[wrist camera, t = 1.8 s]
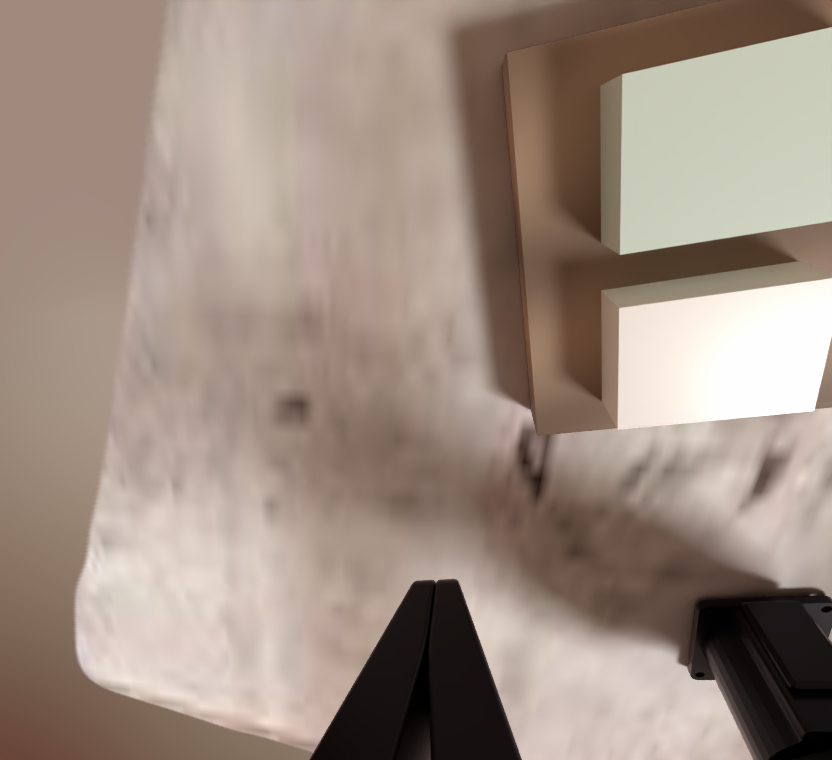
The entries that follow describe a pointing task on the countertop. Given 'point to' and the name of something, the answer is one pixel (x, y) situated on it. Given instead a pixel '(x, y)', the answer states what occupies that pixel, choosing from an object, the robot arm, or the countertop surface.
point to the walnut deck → (581, 193)
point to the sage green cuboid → (718, 145)
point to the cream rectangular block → (716, 345)
